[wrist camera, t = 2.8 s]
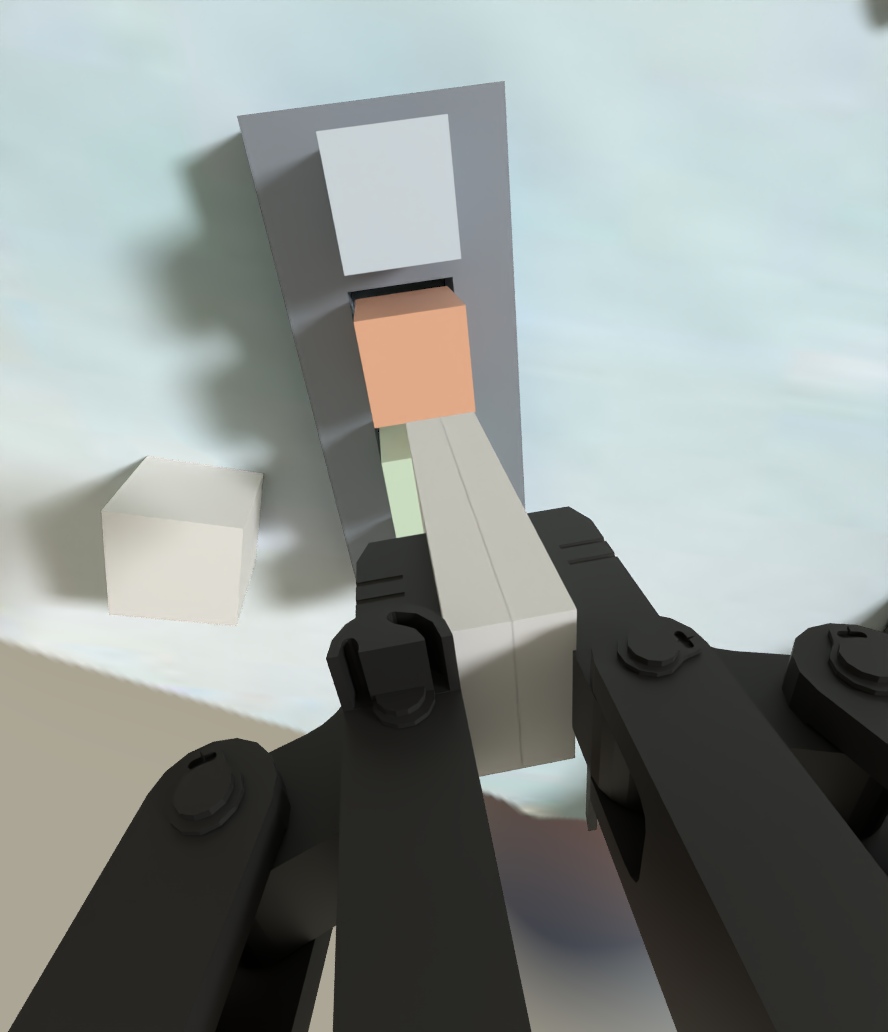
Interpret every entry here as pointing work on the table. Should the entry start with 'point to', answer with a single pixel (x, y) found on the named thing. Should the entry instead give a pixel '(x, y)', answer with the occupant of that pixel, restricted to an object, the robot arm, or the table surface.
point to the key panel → (389, 281)
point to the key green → (400, 480)
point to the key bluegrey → (392, 193)
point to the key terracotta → (415, 355)
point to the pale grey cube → (182, 541)
